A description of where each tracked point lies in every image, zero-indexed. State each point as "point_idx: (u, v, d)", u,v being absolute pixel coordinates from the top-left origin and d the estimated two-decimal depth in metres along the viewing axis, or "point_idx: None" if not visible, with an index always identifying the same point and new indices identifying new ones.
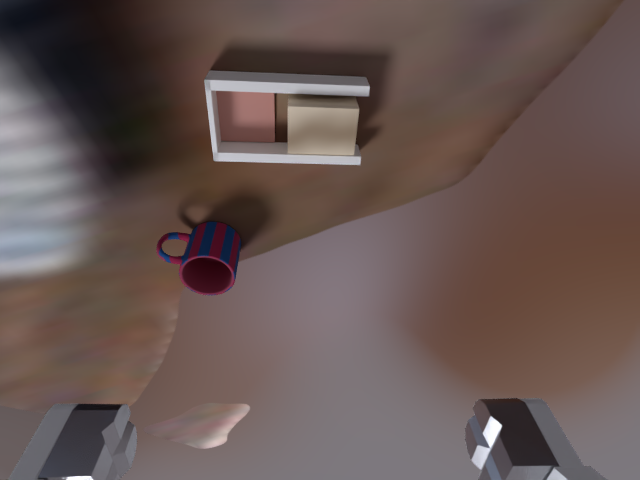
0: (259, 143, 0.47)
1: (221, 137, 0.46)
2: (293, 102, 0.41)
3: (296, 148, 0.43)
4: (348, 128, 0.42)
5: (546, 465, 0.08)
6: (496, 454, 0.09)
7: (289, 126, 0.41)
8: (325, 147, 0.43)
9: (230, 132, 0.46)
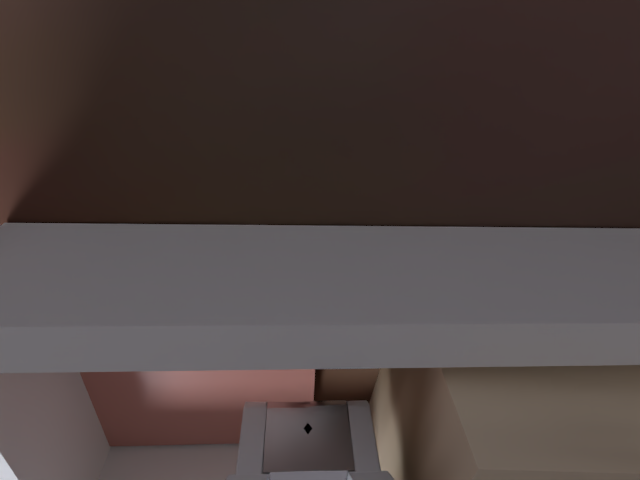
0: None
1: (108, 439, 0.12)
2: (484, 405, 0.07)
3: None
4: None
5: (341, 470, 0.08)
6: None
7: None
8: None
9: (143, 425, 0.12)
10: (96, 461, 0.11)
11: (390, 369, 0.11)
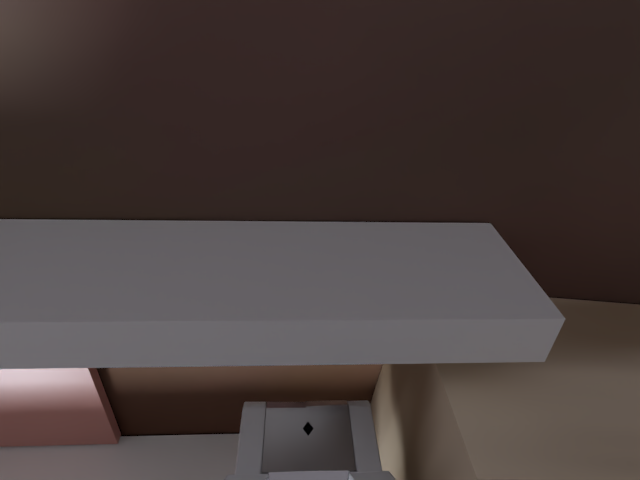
0: (55, 449, 0.12)
1: None
2: (483, 413, 0.07)
3: None
4: None
5: (342, 470, 0.08)
6: None
7: None
8: None
9: None
10: None
11: (390, 375, 0.11)
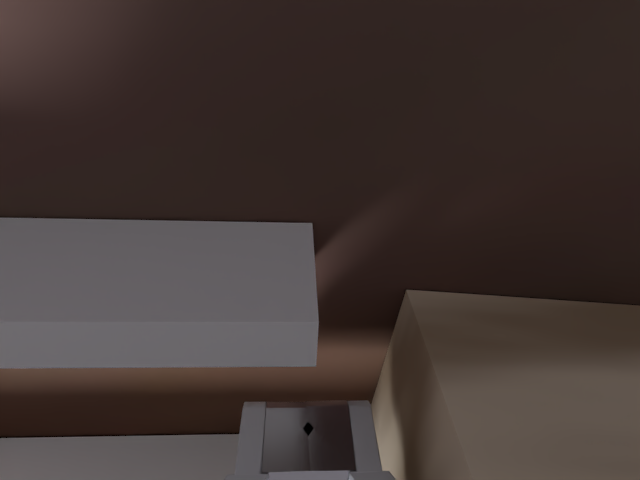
0: None
1: None
2: (480, 417, 0.07)
3: None
4: None
5: (342, 470, 0.08)
6: None
7: None
8: None
9: None
10: None
11: (389, 377, 0.11)
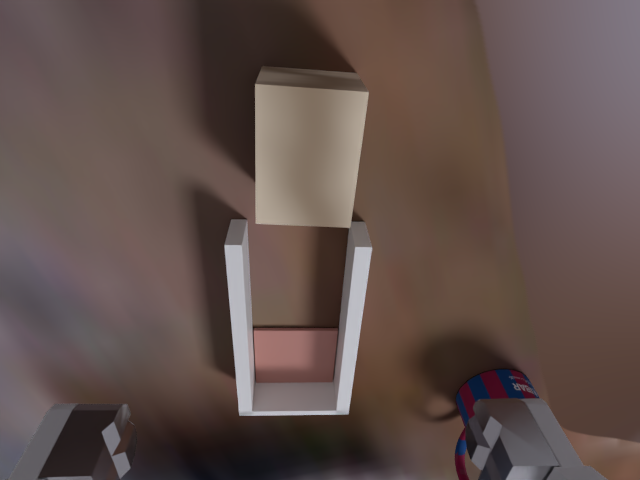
0: (337, 347, 0.33)
1: (327, 382, 0.35)
2: None
3: (341, 212, 0.21)
4: (300, 107, 0.19)
5: (546, 465, 0.08)
6: (496, 454, 0.09)
7: (294, 222, 0.22)
8: (344, 157, 0.20)
9: (321, 373, 0.34)
10: (327, 389, 0.34)
11: None
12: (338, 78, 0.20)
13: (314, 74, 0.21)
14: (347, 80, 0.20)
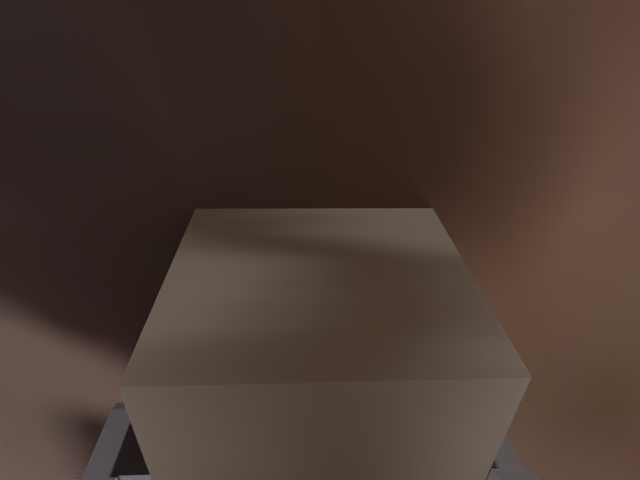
0: None
1: None
2: None
3: None
4: (291, 427, 0.05)
5: None
6: None
7: None
8: None
9: None
10: None
11: None
12: (398, 260, 0.07)
13: (329, 242, 0.08)
14: (426, 270, 0.07)
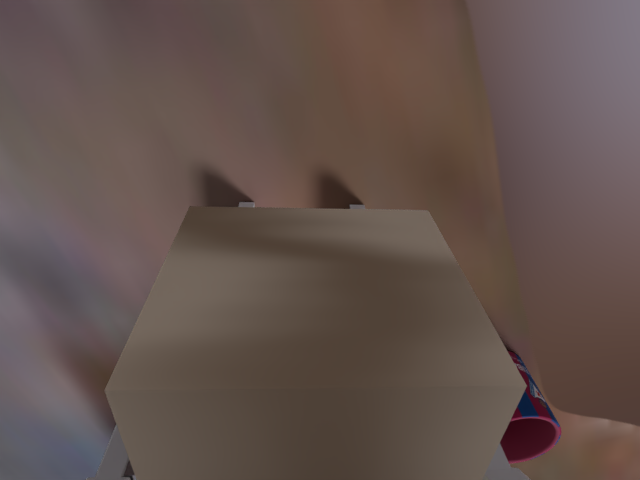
0: None
1: None
2: None
3: None
4: (281, 433, 0.05)
5: None
6: None
7: None
8: None
9: None
10: None
11: None
12: (394, 264, 0.07)
13: (324, 245, 0.07)
14: (422, 275, 0.07)
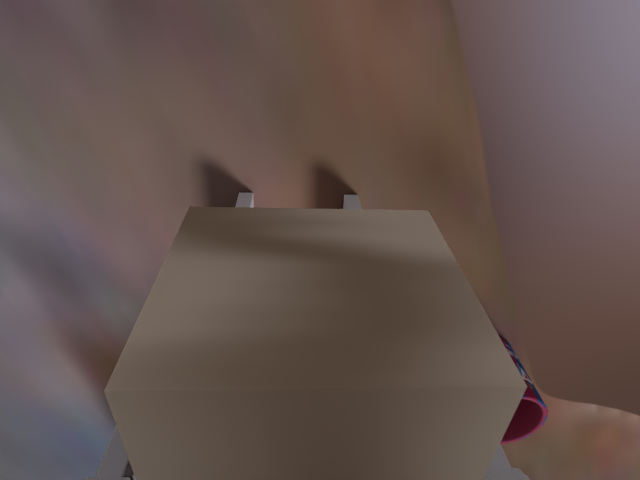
0: None
1: None
2: None
3: None
4: (282, 433, 0.05)
5: None
6: None
7: None
8: None
9: None
10: None
11: None
12: (393, 264, 0.07)
13: (324, 245, 0.07)
14: (422, 275, 0.07)
